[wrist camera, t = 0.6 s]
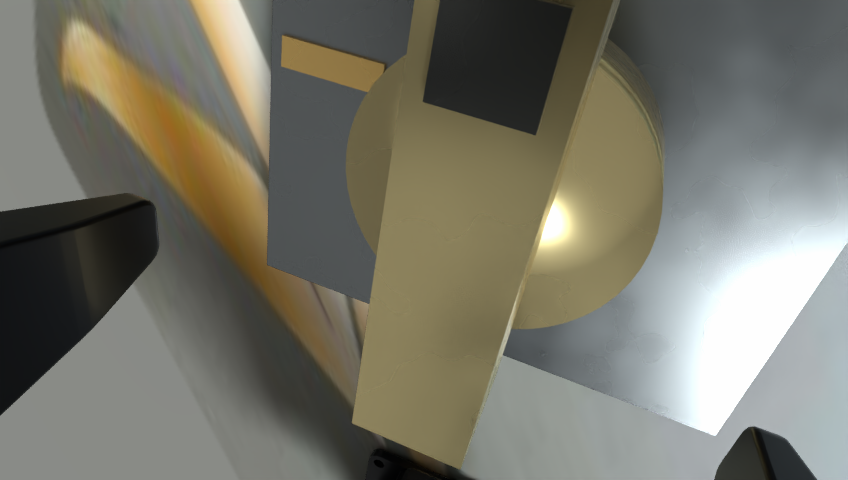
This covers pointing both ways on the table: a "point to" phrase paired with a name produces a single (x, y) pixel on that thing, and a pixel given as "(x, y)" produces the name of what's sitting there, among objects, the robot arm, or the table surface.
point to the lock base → (682, 189)
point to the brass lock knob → (494, 200)
